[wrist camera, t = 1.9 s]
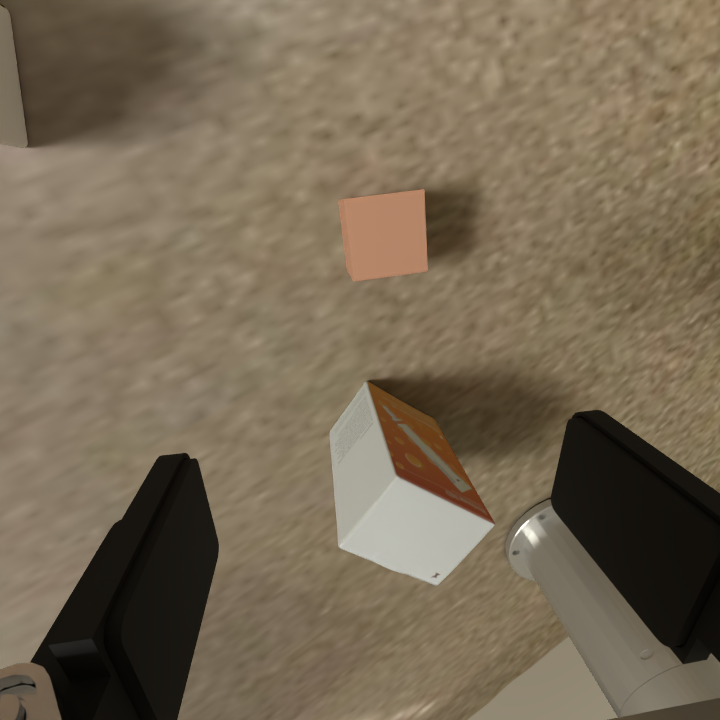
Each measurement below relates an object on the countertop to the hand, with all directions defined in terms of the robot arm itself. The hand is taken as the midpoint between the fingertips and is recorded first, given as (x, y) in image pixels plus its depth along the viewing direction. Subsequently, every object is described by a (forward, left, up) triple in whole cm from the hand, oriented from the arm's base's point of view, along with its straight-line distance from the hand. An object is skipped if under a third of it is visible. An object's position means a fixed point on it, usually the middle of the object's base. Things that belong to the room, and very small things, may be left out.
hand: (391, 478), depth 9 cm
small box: (-3, +13, -22) cm, 26 cm away
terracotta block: (-4, -4, -22) cm, 23 cm away
